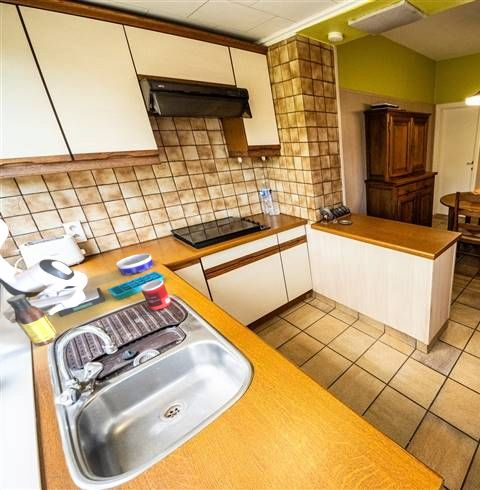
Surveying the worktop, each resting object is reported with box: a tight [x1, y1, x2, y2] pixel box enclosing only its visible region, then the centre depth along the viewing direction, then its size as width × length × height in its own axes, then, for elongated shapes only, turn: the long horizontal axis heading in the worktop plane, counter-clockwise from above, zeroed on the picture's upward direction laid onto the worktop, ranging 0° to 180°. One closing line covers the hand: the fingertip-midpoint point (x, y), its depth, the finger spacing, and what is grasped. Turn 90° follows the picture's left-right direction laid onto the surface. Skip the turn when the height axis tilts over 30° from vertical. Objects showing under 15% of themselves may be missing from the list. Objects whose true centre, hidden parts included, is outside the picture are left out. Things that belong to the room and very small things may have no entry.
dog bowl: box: [115, 253, 155, 276], centre depth 150 cm, size 15×15×6 cm
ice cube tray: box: [107, 270, 165, 300], centre depth 131 cm, size 12×20×3 cm, turn 147°
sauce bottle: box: [6, 294, 59, 347], centre depth 95 cm, size 6×6×20 cm
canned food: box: [141, 280, 172, 312], centre depth 114 cm, size 8×8×11 cm
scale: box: [57, 287, 105, 317], centre depth 121 cm, size 14×13×3 cm
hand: (30, 317), depth 95 cm, fingers open, 8 cm apart
